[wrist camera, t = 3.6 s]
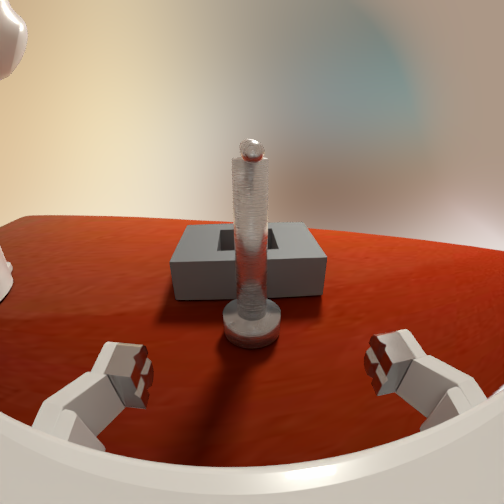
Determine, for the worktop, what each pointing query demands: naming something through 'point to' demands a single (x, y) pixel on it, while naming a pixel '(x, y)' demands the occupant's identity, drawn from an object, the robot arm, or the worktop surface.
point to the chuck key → (251, 253)
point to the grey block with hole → (223, 262)
